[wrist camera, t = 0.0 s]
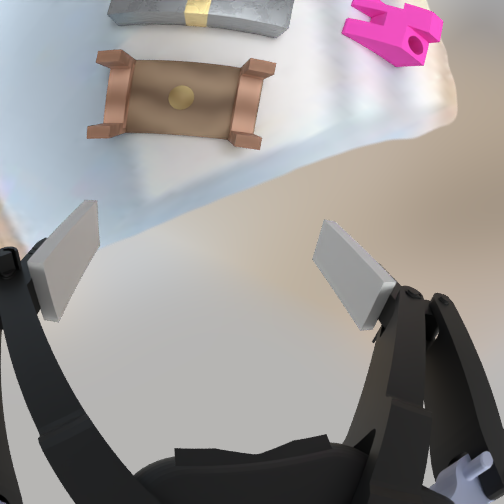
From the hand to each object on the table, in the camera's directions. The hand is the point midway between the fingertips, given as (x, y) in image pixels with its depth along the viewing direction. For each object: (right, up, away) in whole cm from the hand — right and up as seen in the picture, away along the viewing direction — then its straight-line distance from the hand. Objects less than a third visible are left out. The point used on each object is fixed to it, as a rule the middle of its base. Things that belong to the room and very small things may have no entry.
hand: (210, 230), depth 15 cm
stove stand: (-8, +21, +19) cm, 29 cm away
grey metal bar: (-5, +34, +12) cm, 37 cm away
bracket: (+24, +38, +17) cm, 48 cm away
